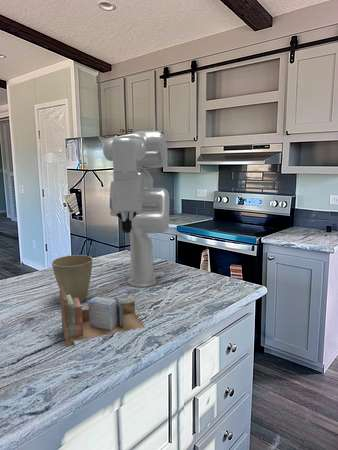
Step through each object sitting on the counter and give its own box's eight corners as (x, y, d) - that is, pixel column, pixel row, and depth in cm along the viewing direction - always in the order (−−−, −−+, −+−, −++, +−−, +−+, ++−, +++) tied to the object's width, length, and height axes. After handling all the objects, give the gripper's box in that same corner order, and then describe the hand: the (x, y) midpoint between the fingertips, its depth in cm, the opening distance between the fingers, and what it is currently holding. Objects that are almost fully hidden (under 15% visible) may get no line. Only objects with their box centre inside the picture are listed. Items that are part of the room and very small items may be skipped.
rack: (134, 315, 123) (132, 275, 120) (145, 330, 112) (144, 287, 109) (62, 328, 114) (59, 286, 111) (66, 346, 103) (63, 300, 100)
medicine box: (118, 324, 113) (117, 299, 111) (110, 331, 109) (109, 304, 107) (97, 321, 116) (95, 295, 114) (89, 327, 112) (87, 301, 110)
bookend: (117, 317, 118) (116, 297, 117) (123, 327, 111) (122, 306, 110) (114, 318, 118) (113, 298, 117) (120, 328, 111) (119, 307, 109)
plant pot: (62, 292, 144) (59, 254, 141) (98, 292, 143) (96, 254, 140) (48, 308, 129) (45, 266, 126) (89, 308, 129) (86, 266, 126)
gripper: (143, 175, 122) (144, 228, 125) (99, 177, 116) (102, 232, 119) (150, 176, 115) (151, 232, 118) (104, 178, 109) (107, 236, 113)
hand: (126, 232), depth 119 cm, fingers closed
